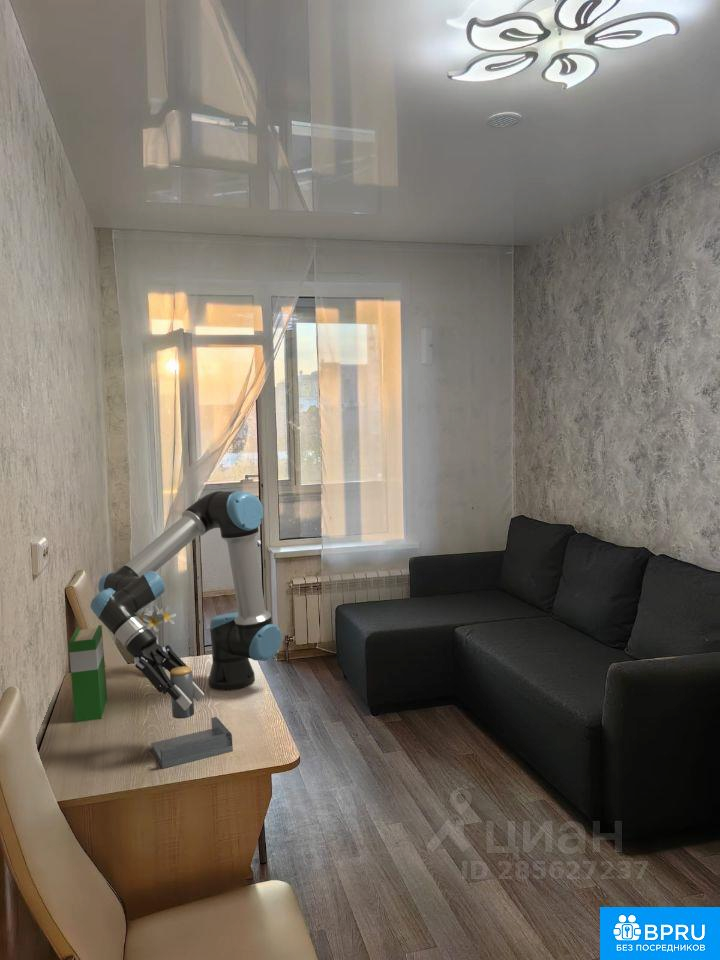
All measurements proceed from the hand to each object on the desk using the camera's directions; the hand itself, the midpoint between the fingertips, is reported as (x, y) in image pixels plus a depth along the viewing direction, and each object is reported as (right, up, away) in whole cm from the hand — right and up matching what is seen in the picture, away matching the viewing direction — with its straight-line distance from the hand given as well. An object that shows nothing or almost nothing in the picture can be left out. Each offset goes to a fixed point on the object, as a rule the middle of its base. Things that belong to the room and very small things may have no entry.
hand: (194, 702), depth 191 cm
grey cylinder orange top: (-3, -4, +1) cm, 5 cm away
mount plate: (-1, -13, +2) cm, 13 cm away
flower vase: (-29, -11, +67) cm, 74 cm away
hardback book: (-40, -13, +35) cm, 54 cm away
